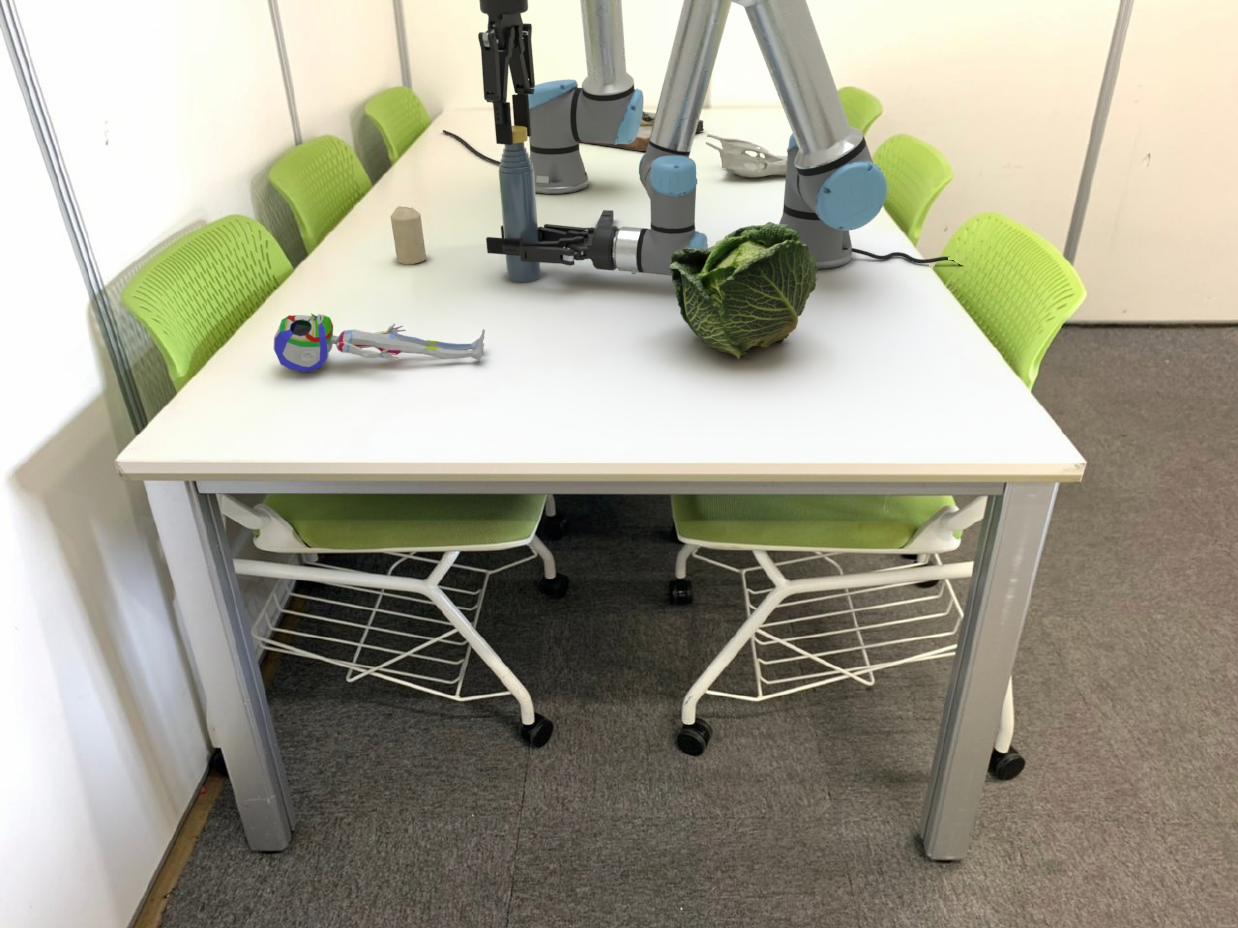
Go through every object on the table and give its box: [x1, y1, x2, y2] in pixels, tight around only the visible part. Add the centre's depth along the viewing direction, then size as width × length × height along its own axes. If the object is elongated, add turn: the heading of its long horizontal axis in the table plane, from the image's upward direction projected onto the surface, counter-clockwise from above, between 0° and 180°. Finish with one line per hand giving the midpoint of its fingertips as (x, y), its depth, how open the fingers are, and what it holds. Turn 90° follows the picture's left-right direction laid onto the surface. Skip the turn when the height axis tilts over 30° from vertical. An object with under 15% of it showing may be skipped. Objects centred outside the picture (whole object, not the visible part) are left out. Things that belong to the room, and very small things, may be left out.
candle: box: [390, 205, 427, 265], centre depth 169 cm, size 6×6×10 cm
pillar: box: [594, 209, 615, 229], centre depth 182 cm, size 2×2×20 cm
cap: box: [512, 125, 529, 143], centre depth 151 cm, size 5×5×2 cm
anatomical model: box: [705, 133, 788, 178], centre depth 218 cm, size 15×9×25 cm
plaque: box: [584, 110, 705, 152], centre depth 257 cm, size 30×7×30 cm
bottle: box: [498, 142, 542, 283], centre depth 157 cm, size 6×6×25 cm
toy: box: [273, 313, 486, 373], centre depth 132 cm, size 10×8×30 cm
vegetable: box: [669, 221, 818, 360], centre depth 133 cm, size 20×19×20 cm
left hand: (513, 139), depth 151 cm, fingers open, 6 cm apart
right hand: (495, 239), depth 162 cm, fingers closed on bottle, 6 cm apart
